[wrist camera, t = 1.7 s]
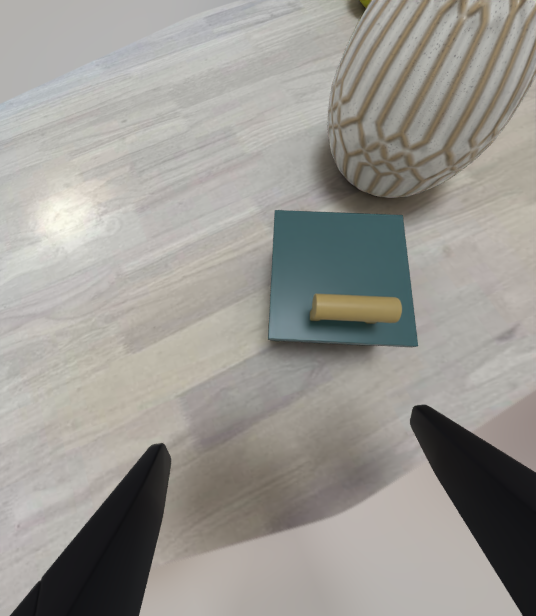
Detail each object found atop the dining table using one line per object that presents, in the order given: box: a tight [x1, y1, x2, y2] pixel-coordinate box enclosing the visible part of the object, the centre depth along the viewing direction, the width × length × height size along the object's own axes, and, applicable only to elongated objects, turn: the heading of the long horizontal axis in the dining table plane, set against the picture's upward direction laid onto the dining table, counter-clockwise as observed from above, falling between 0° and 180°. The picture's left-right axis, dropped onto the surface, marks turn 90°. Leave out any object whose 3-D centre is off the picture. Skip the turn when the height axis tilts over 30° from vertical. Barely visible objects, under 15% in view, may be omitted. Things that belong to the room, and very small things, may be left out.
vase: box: [327, 0, 536, 198], centre depth 20 cm, size 16×16×20 cm
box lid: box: [268, 210, 418, 347], centre depth 17 cm, size 11×11×4 cm
